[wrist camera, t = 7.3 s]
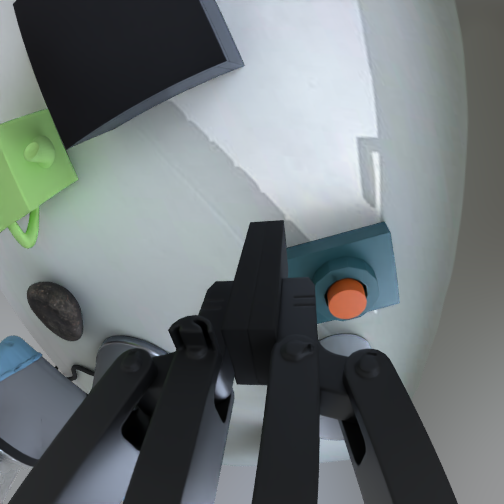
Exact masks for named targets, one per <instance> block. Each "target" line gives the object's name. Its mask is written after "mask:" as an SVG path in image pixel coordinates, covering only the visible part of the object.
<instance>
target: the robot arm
mask: <svg viewBox="0 0 504 504" xmlns="http://www.w3.org/2000/svg"><path fill="white" fill-rule="evenodd" d="M168 331H169V333H170V336H171V338H172V340H173V343H174V345H175V347H176V351H175V352H173V353H169V354H168V353H167V352H165V351H164V350H162V349H160V348H159V347H157V346H155V345H153V344H151V343H149V342H146V341H144V340H141V339H137V338H133V337H128V336H114V337H110V338H108V339H106V340H105V341H104V342H103V344H102V345H101V347H100V349H99V350H98V353H97V357H96V367H95V372H94V371H91V370H89V369H86V368H84V367H82V366H79V365H73V366H72V368H71V371H72V374H73V376H72V377H65V376H64V375H63V374H62V373H60V372H59V371H58V369H59V368H58V367H57V366H55V367H53V366H52V365H51V364H50V363H49V362H48V361H47V360H45V359H44V358H43V357H42V354H41V353H39V352H37V351H35V350H34V349H33V348H32V347H31V346H30V345H29V344H27V343H26V342H25V341H24V340H23V339H22V338H20V337H18V336H9V337H7V338H5V339H4V340H3V341H2V342H1V343H0V504H2V503H3V501H4V499H5V497H6V495H7V493H8V491H9V489H10V487H11V485H12V483H13V482H14V480H15V478H16V476H17V474H18V472H19V470H21V469H32V468H33V469H32V470H31V471H30V473H29V474H28V476H27V477H26V478H25V480H24V481H23V483H22V484H21V486H20V487H19V488H18V490H17V491H16V493H15V494H14V496H13V497H12V498H11V500H10V501H9V503H8V504H120V503H121V501H123V504H214V501H215V496H216V491H217V486H218V480H219V476H220V470H221V465H222V460H223V455H224V450H225V445H226V440H227V434H228V429H229V424H230V419H231V413H232V408H233V403H234V391H233V388H232V386H233V381H234V376H235V380H236V383H237V384H242V385H267V394H266V402H265V410H264V418H263V426H262V434H261V441H260V449H259V456H258V464H257V471H256V478H255V485H254V492H253V498H252V504H317V499H318V478H319V442H320V415H321V416H325V417H329V418H333V419H337V420H338V422H339V425H340V428H341V431H342V434H343V437H344V440H345V443H346V446H347V449H348V453H349V456H350V459H351V462H352V465H353V468H354V471H355V474H356V477H357V481H358V484H359V487H360V490H361V494H362V497H363V500H364V504H458V503H457V501H456V498H455V495H454V493H453V491H452V488H451V486H450V483H449V481H448V479H447V476H446V474H445V472H444V469H443V467H442V465H441V462H440V460H439V458H438V456H437V454H436V452H435V449H434V447H433V445H432V443H431V441H430V438H429V436H428V434H427V432H426V430H425V428H424V426H423V423H422V421H421V419H420V417H419V415H418V413H417V411H416V409H415V407H414V405H413V403H412V401H411V399H410V397H409V395H408V393H407V391H406V389H405V387H404V385H403V383H402V381H401V379H400V378H399V376H398V374H397V372H396V370H395V368H394V366H393V364H392V362H391V360H390V359H389V358H388V357H387V356H386V354H384V353H382V352H380V351H379V350H375V349H369V348H368V349H360V350H358V351H355V352H353V353H352V354H351V355H350V356H349V357H348V356H343V355H338V354H335V353H332V352H330V351H328V350H326V349H325V348H324V347H323V346H322V345H321V343H320V342H319V340H318V334H317V312H316V294H315V285H314V283H313V282H312V281H311V279H310V278H309V277H298V278H288V261H287V249H286V239H285V228H284V220H280V221H264V222H250V225H249V229H248V232H247V236H246V239H245V243H244V246H243V250H242V253H241V257H240V260H239V264H238V268H237V271H236V275H235V278H234V281H216V282H215V283H214V284H213V285H212V286H211V287H210V288H209V289H208V290H207V293H206V295H205V298H204V301H203V304H202V306H201V309H200V312H199V315H198V316H197V315H193V316H186V317H184V318H181V319H179V320H178V321H176V322H175V323H174V324H172V326H171V327H170V329H169V330H168ZM76 370H80V371H82V372H85V373H87V374H89V375H92V376H94V379H93V386H92V389H91V391H90V393H89V394H87V393H85V392H84V391H83V390H81V389H80V388H79V387H78V386H76V385H75V384H74V383H73V382H71V381H73V380H76V379H77V373H76Z"/></svg>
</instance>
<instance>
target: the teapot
mask: <svg viewBox="0 0 504 504" xmlns="http://www.w3.org/2000/svg"><path fill="white" fill-rule="evenodd" d="M77 180H78V177H77V175H76V173H75V171H74V169H73V166H72V164H71V162H70V160H69V158H68V155H67V153H66V151H65V149H64V146H63V144H62V142H61V139H60V137H59V134H58V132H57V130H56V127H55V125H54V122H53V120H52V117H51V115H50V112H49V110H48V109H45V110H41V111H38V112H35V113H32V114H28V115H25V116H22V117H19V118H16V119H13V120H10V121H8V122H5V123H2V124H0V232H1V231H3V230H4V229H6V228H7V227H8V228H9V230H10V232H11V233H12V235H13V236H14V238H15V239H16V240H17V241H18V243H19V244H20V245H21V246H23V247H24V248H27V249H29V248H32V247H33V246H34V245H35V243H36V240H37V236H38V230H39V206H40V205H41V204H43V203H44V202H46V201H47V200H48V199H50V198H51V197H53V196H54V195H56V194H57V193H59V192H60V191H62V190H63V189H65V188H66V187H68V186H69V185H71V184H72V183H74V182H75V181H77ZM28 213H30V216H29V223H28V227H27V231H26V233H24V232H23V231H22V230H21V228H20V227H19V226H18V224H17V222H16V221H18V220H19V219H21V218H22V217H24V216H25V215H27V214H28Z"/></svg>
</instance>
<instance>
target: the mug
mask: <svg viewBox="0 0 504 504" xmlns="http://www.w3.org/2000/svg"><path fill="white" fill-rule="evenodd" d="M319 342H320V343H321V345H322V346H323V347H324V348H325V349H326V350H328V351H330V352H332V353H335V354H338V355H343V356H348V357H349V356H350V355H351V354H352V353H353V352H355V351H358V350H360V349H368V348H369V349H371V347H370V345H369V343H368V342H367V341H366V340H365V339H363V338H362V337H360V336H357V335H353V334H338V335H333V336H330V337H327V338H325V339H323V340H321V341H319ZM320 438H321V439H325V440H344V437H343V434H342V431H341V428H340V425H339V422H338V420H337V419H333V418H329V417H325V416H321V415H320Z"/></svg>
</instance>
